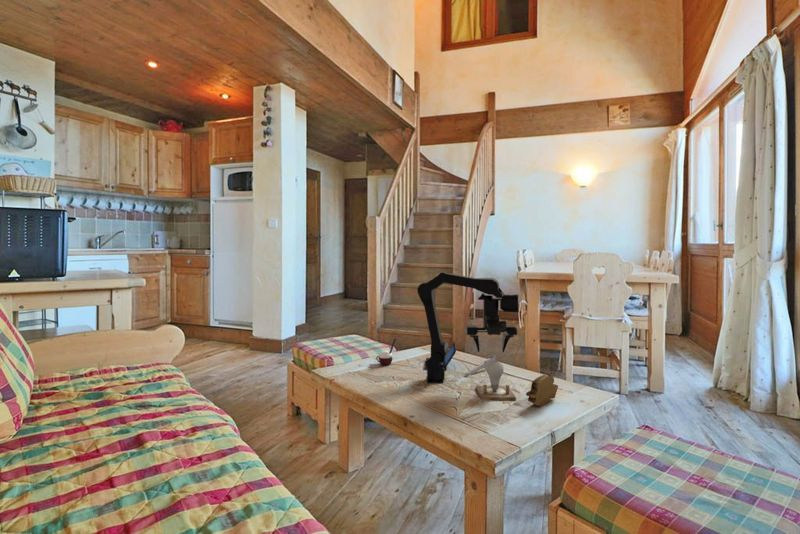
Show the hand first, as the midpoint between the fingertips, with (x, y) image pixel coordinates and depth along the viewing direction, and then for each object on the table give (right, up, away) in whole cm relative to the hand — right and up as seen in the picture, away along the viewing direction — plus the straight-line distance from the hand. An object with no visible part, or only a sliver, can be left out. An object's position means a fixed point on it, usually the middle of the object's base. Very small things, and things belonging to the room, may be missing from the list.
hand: (490, 352), depth 162 cm
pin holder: (0, -14, -8) cm, 16 cm away
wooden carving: (+13, -14, -18) cm, 26 cm away
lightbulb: (0, -13, -8) cm, 15 cm away
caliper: (0, -12, +18) cm, 22 cm away
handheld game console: (-17, -12, +28) cm, 35 cm away
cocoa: (-41, -12, +30) cm, 52 cm away
